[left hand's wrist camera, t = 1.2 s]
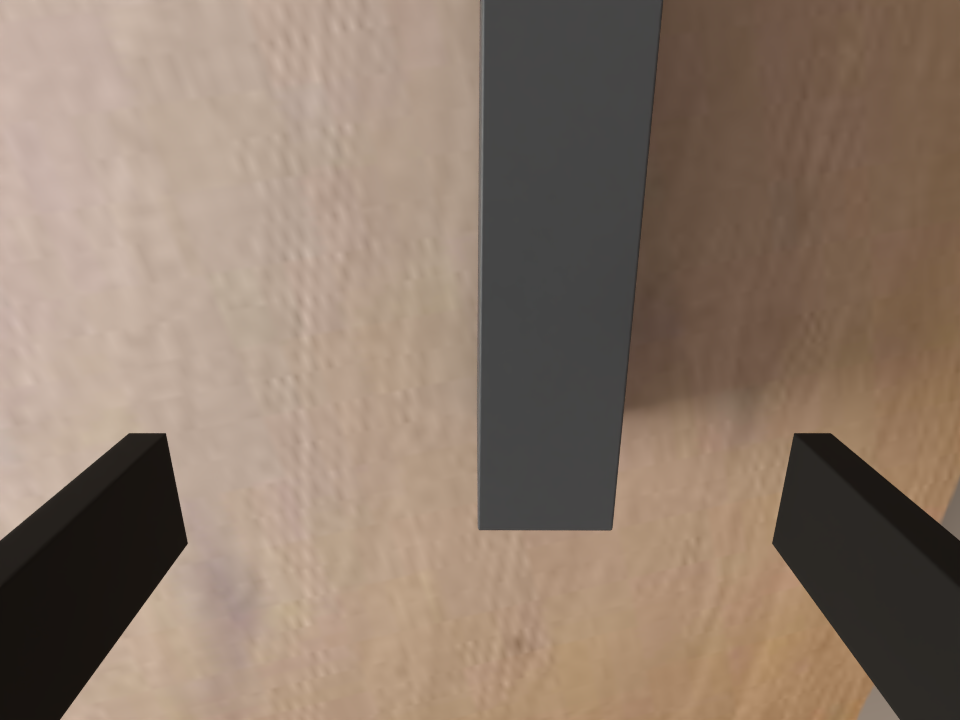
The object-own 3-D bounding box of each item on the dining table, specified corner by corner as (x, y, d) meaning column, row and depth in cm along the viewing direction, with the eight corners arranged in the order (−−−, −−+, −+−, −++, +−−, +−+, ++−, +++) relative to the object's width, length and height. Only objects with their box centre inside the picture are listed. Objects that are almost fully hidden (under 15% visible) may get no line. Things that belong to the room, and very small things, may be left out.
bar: (572, 420, 28) (612, 531, 20) (477, 419, 28) (477, 531, 20) (614, -214, 20) (708, -454, 12) (481, -215, 20) (485, -458, 12)
